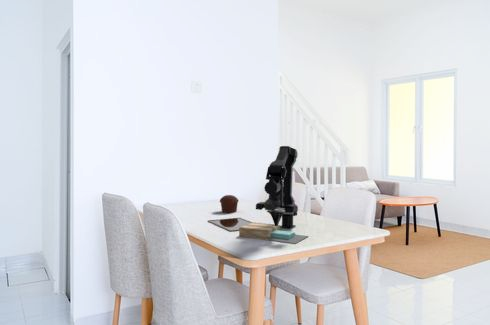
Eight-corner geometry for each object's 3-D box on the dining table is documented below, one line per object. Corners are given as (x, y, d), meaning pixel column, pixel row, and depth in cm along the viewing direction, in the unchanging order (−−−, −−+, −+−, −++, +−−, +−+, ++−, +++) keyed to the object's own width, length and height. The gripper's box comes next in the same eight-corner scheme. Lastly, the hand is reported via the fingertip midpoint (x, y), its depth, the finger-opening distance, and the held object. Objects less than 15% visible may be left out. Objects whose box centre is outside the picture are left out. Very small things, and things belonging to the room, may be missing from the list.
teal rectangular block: (276, 234, 196) (276, 230, 195) (294, 236, 191) (294, 232, 191) (270, 236, 190) (271, 232, 190) (289, 239, 186) (289, 234, 186)
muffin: (237, 210, 264) (237, 194, 264) (239, 213, 253) (239, 196, 253) (218, 210, 263) (218, 194, 262) (220, 213, 252) (220, 196, 251)
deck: (253, 230, 206) (253, 222, 205) (279, 233, 199) (280, 225, 199) (239, 236, 194) (239, 227, 193) (266, 239, 187) (266, 230, 186)
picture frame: (264, 228, 212) (239, 219, 236) (264, 226, 212) (239, 217, 236) (230, 232, 203) (207, 222, 228) (230, 230, 203) (207, 220, 227)
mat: (281, 233, 199) (281, 232, 199) (308, 236, 192) (308, 236, 192) (267, 240, 186) (267, 239, 186) (295, 244, 179) (295, 243, 179)
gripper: (249, 192, 188) (249, 227, 189) (288, 195, 179) (288, 231, 180) (261, 189, 198) (261, 222, 199) (298, 192, 189) (298, 227, 190)
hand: (276, 226), depth 192 cm, fingers closed
